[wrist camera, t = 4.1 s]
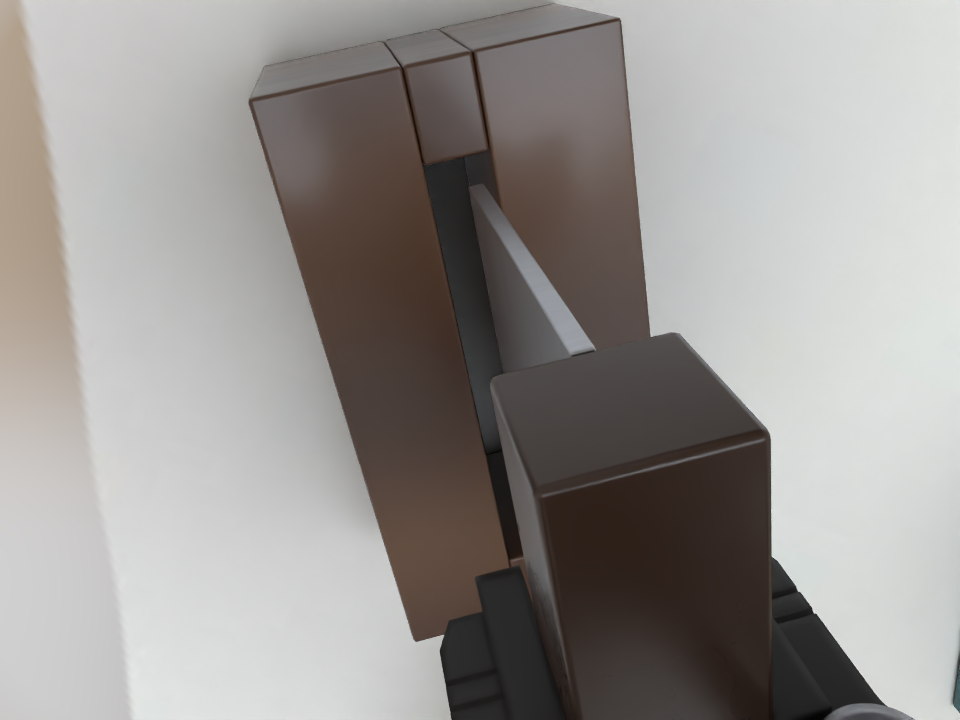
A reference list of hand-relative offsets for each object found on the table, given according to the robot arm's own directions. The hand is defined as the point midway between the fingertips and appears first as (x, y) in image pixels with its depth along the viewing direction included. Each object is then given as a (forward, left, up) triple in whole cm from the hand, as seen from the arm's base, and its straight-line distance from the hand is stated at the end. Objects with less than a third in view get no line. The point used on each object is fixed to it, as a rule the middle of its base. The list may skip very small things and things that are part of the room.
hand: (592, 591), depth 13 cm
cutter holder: (0, 0, -12) cm, 12 cm away
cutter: (0, 0, -6) cm, 6 cm away
